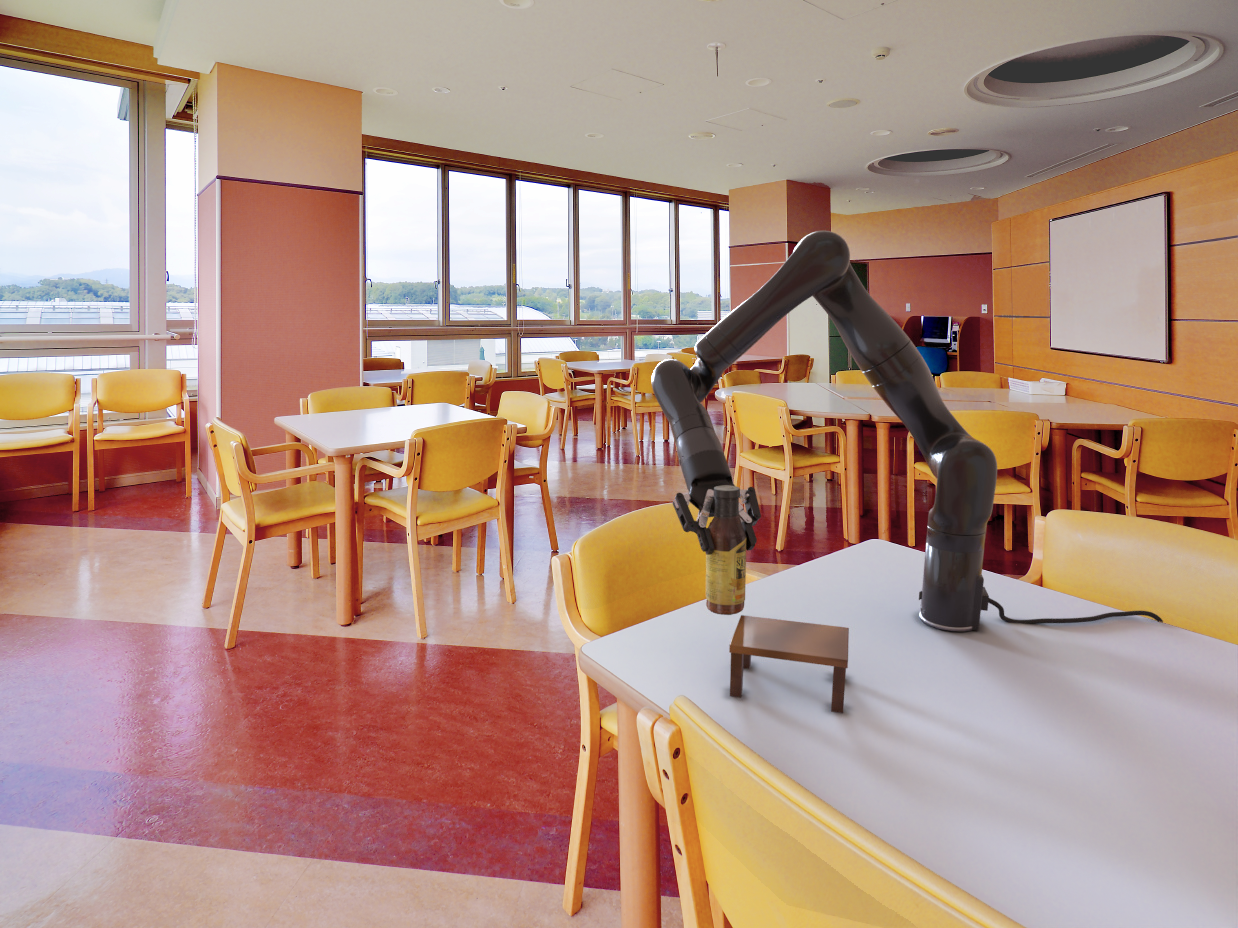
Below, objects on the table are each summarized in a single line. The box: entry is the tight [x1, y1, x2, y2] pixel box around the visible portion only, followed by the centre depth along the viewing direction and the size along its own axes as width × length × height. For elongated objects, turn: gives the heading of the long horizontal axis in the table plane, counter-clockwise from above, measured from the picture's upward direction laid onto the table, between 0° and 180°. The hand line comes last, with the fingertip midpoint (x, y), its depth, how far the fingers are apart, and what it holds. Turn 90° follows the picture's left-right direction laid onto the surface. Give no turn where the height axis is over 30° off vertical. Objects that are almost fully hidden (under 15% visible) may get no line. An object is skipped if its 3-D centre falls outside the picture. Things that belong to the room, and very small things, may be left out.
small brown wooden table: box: [728, 614, 850, 714], centre depth 107 cm, size 16×11×8 cm
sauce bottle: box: [705, 485, 747, 616], centre depth 115 cm, size 6×6×20 cm
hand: (731, 550), depth 113 cm, fingers closed on sauce bottle, 6 cm apart
